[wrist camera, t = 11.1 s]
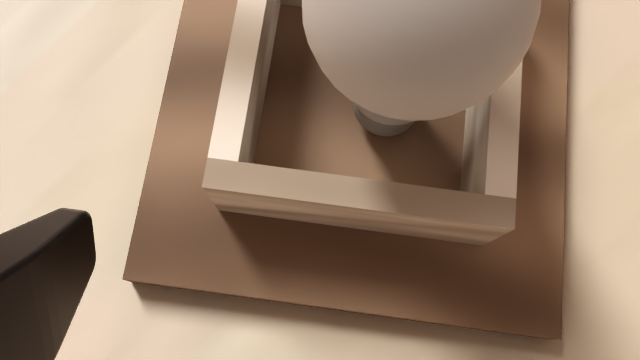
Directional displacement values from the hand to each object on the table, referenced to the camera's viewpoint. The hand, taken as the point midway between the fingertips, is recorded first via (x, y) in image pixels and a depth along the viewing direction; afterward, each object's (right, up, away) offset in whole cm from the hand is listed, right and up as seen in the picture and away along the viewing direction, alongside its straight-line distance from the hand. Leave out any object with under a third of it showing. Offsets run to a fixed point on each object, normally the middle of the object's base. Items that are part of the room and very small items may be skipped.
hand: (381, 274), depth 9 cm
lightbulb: (+2, +4, +14) cm, 15 cm away
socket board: (+1, +4, +15) cm, 16 cm away
